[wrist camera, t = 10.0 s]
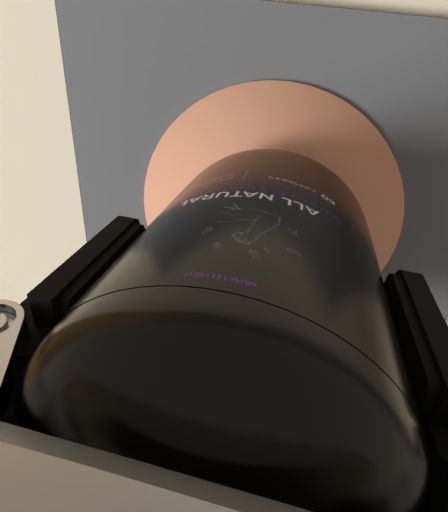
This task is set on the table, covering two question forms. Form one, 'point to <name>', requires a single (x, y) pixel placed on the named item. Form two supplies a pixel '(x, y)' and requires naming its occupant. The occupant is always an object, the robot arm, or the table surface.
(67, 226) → the table surface
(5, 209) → the table surface
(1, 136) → the table surface
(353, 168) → the mat
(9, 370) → the robot arm
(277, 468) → the supplement bottle
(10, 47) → the table surface
